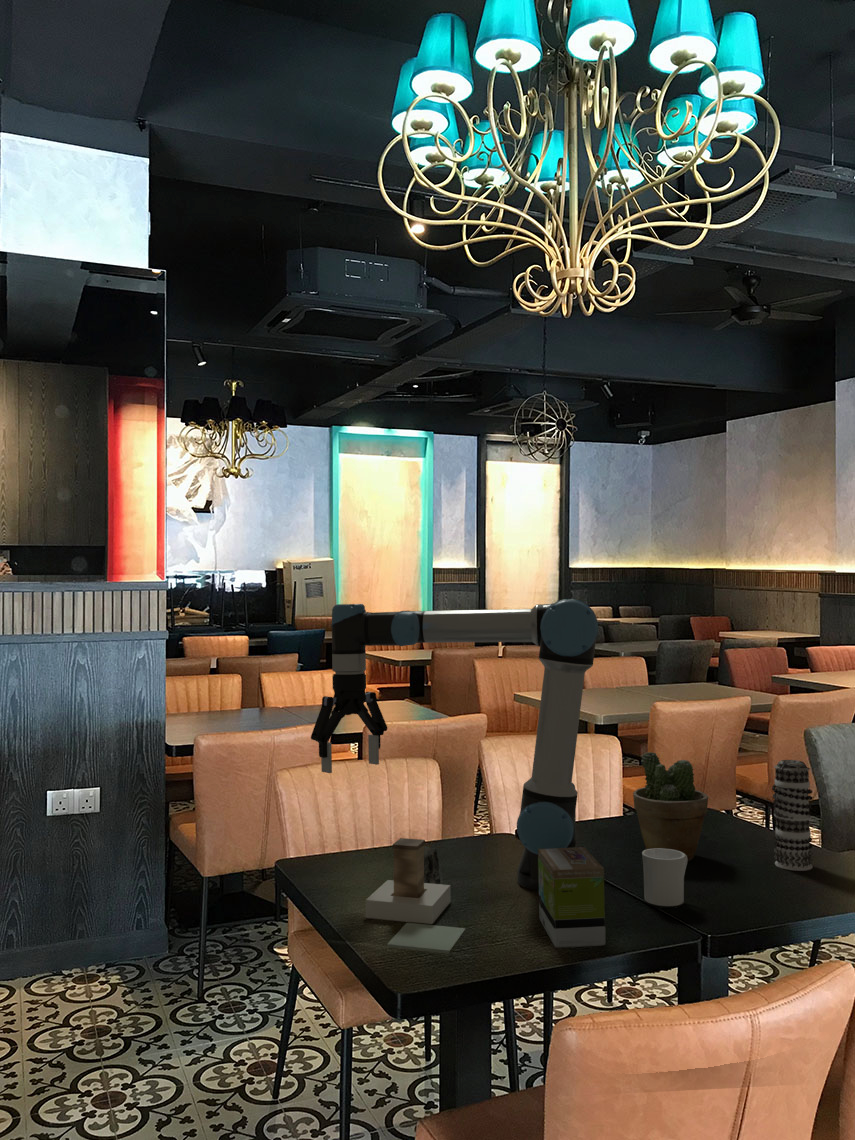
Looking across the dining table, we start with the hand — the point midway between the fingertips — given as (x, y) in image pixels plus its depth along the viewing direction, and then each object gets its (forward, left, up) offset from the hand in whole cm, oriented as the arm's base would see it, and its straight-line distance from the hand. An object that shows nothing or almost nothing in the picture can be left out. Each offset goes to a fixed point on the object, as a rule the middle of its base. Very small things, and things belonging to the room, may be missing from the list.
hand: (350, 768), depth 210 cm
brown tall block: (-17, +11, -27) cm, 33 cm away
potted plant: (-68, -47, -27) cm, 87 cm away
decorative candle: (-96, -46, -27) cm, 110 cm away
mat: (-25, +25, -27) cm, 44 cm away
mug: (-68, -10, -27) cm, 74 cm away
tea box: (-51, +14, -27) cm, 59 cm away
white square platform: (-17, +11, -27) cm, 33 cm away
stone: (-15, -7, -27) cm, 32 cm away
